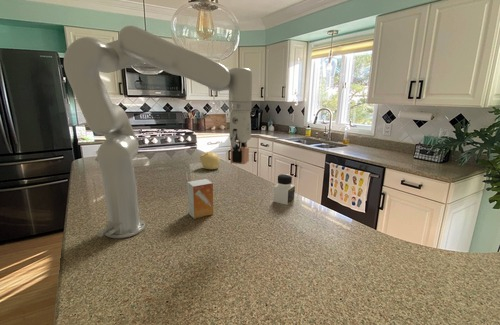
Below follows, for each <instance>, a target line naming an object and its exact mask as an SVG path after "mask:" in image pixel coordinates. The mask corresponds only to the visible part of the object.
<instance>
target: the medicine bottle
mask: <svg viewBox="0 0 500 325" xmlns="http://www.w3.org/2000/svg"><path fill="white" fill-rule="evenodd" d="M292 178H293V176H292V175H290V174H287V173H281V174H278V175H277V184H276V185H274V186H273V192H272V193H273V195H272V196H273V197H272V199H273V200H272V201H273V203H278V204H280V205H281V204H282V205H286V206H288V205H290V204H291V203H292V202H293V201H295V193H296V192H295V191H296V190H295V189H296V185H295V184H292V182H293V181H292V180H293V179H292Z"/></svg>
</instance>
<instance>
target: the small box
mask: <svg viewBox="0 0 500 325" xmlns="http://www.w3.org/2000/svg"><path fill="white" fill-rule="evenodd" d="M186 186H187V205H188V206H187V207H188V208H187V209H188V211H187V212H188V214H189V215H190V216H191V217H192V218H193V219H194V220H196V219H199V218H202V217H208V216H211V215H214V183H213V182H212V181H210V180H209V179H207V178H204V179H196V180H191V181H187V183H186Z"/></svg>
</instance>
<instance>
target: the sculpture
mask: <svg viewBox="0 0 500 325" xmlns="http://www.w3.org/2000/svg"><path fill="white" fill-rule="evenodd" d="M199 161H200V162H199V163H201V166H202V168H204V169H206V170H216V169H218V168H219V167H220V164H221V159H220V157H219V155H218V154H217V153H216V152H214V151H206V152H205V153H203V154H201V155H200V156H199Z"/></svg>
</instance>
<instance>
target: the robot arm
mask: <svg viewBox="0 0 500 325" xmlns="http://www.w3.org/2000/svg"><path fill="white" fill-rule="evenodd" d="M63 56H64V57H63V68H64V72H65V76H66V78H67V81H68V83H69V85H70V87H71V90H72V92H73V94H74V96H75V98H76V101H77V104H78V106H79V109H80V111H81V114H82V115H83V118H84V120H85V122H86V124H87V127H88V128H89V129H90V131H91V132H93V133H94V134H96V135H100V136H104V138H105V140H104V141H103V142H102V143H101V144H100V145H99V147H98V149H97V153H96V155H97V157H96V158H97V162H98V163H97V164H98V165H99V169H100V173H101V177H102V184H103V190H104V198H105V205H106V212H107V221H106V222H105V226H104V228H101V229H100V230H98V231H97V232H96V235H97V237H99V238H102V237H103V236H105V237H108V238H111V239H125V238H129V237H132V236H135V235H138V234H139V233H141V232H142V231H143V230H144V229H145V227H146V222H145V220H144V219H141V217H140V210H139V208H140V207H139V200H138V199H139V198H138V188H137V187H138V186H137V179H136V178H137V177H136V172H135V169H134V164H133V163H134V162H133V159H134V158H135V157H137V155H138V152H139V146H140V145H139V142H138V140H137V139H138V138H137V136H136V134H135V131H134V129H133V126H132V125H131V124H132V123H131V122H130V119H129V116H128V115H127V113H126V111H125V109H123V107H121V106H119V105H118V104H117V103H113V102H112V100H111V98H110V95H109V93H108V90H107V89H108V88H107V87H106V85H105V83H104V82H103V80H102V78H101V74H100V72H101V73H103V74H109V73H114V72H115V73H116V72H117V71H120V70H123V69H126V68H129V67H131V66H132V67H133V66H135V65H138V64H140V63H145V64H147V65H149V66H152V67H154V68H157V69H159V70H161V71H163V72H165V73H168V74H171V75H173V76H174V75H175V76H180V77H183V78H186V79H188V80H191V81H193V82H196V83H198V84H200V85H202V86H205V87H206V88H208V89H209V90H211V91H212V92H222V91H228V112H229V113H230V114H229V115H230V116H229V118H230V119H229V141H230V145H231V148H232V162H236V163H241V162H242V151H241V147H248V141H249V140H251V138H252V123H251V122H252V121H251V120H252V118H251V112H252V92H253V73H252V70H251V69H250V68H246V67H232V68H231V69H228V68H227V67H225V65H223V64H221V63H220V62H217V61H214V60H213V59H212V58H208V57H206V56H204V55H202V54H200V53H197V52H195V51H192V50H189V49H187V48H185V47H182V46H180V45H177V44H176V43H173V42H171V41H168V40H167V39H165V38H162V37H160V36H157V35H155V34H153V33H151V32H149V31H148V30H147V31H146V30H144V29H143V28H140V27H137V26H135V25H127V26H124V27H122V28H121V29H120V30H119V33H118V36H117V40H114V41H111V42H107V43H105V42H103V41H102V40H100V39H97V38H94V37H89V36H87V37H86V36H83V37H80V38H77V39H75V40H74V41H73V42H71V43H70V44H69V45H68V46H67V49H66V51H65V53H64V55H63Z"/></svg>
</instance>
